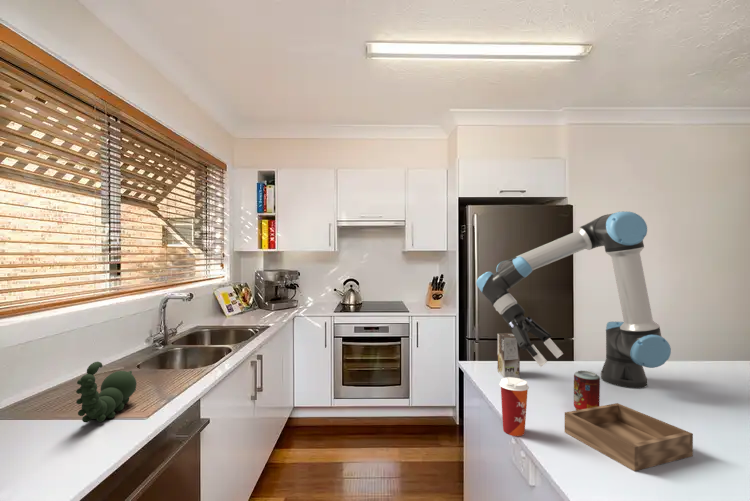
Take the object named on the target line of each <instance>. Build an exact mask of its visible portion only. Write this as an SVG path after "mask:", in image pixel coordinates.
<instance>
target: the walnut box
mask: <svg viewBox="0 0 750 501" xmlns="http://www.w3.org/2000/svg"><path fill="white" fill-rule="evenodd" d="M564 433H565V434H567V435H569V436H571V438H574V439H575V440H578V441H579V442H581V443H583V444H584V445H586V446H588V447H591V449H594V450H596V451H598V452H599V453H601V454H603V455H605V456H606V457H608V458H610V459H612V460H613V461H615V462H617V463H618V464H621V465H622V466H624V467H625V468H628V469H630V470H631V471H633V472H637V471H642V470H645V469H649V468H652V467H655V466H656V467H657V466H659V465H660V466H661V465H664V464H667V463H671V462H675V461H678V460H683V459H687V458H691V457H693V456H694V454H693V453H694V449H693V448H694V433H692V432H690V431H687V430H684V429H683V428H680V427H678V426H675V425H673V424H671V423H668V422H665V421H663V420H660V419H658V418H655V417H653V416H650V415H647V414H645V413H643V412H640V411H639V410H635V409H633V408H630V407H628V406H626V405H623V404H620V403H618V402H617V403H611V404H606V405H600V406H598V407H593V408H587V409H581V410H576V409H575V410H572V411H571V410H570V411H565V412H564Z"/></svg>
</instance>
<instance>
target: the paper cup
mask: <svg viewBox="0 0 750 501" xmlns="http://www.w3.org/2000/svg"><path fill="white" fill-rule="evenodd" d="M499 386H500V398H501V413H502V414H501V416H502V418H501V419H502V430H503V432H504V433H505V434H507V435H509V436H512V437H522V436H524V435H525V432H526V418H527V404H528V403H527V402H528V390H529V389H530V387H529V385H528V381H526V380H524V379H522V378H513V377H507V378H504V377H503V378H501V379H500V382H499Z"/></svg>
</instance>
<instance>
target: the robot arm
mask: <svg viewBox="0 0 750 501" xmlns="http://www.w3.org/2000/svg"><path fill="white" fill-rule="evenodd" d="M647 233H648V225H647V222H646V221H645V219H644V218H643V217H642V216H641V215H640V214H637V213H636V212H633V211H617V212H614V213H609V214H608V213H607V214H604V215H601V216H599V217H597V218H594V219H593V220H592V221H590V222H587V223H585V224H584V225H581V226H579V227H577V228H576V231H575V232H572V233H569V234H566V235H564V236H562V237H559V238H556V239H555V240H553V241H550V242H547V243H545V244H542V245H540V246H538V247H535V248H533V249H531V250H528V251H526V252H524V253H521V254H519V255H516V256H514V257H512V258H510V259H507V260H503V261H500V262H499V263H498V264H497V266H496V269H495V270H496V272H495V273H493V272H492V271H486V272H484V273H483V274H481V275H480V276H478V278H477V279H476V282H475V283H476V284H475V285H476V287H477V288H478V290H480V292H481V293H482V294H483V296H484V297H485V298H486V299H487V301H488V302H489V303H490V304H491V305H492V306H493V308H494V309H495V311H496V312H498V313H499V315H501V317H502V318H503V320H504V321H505V322H506V323H507V326H508V328H509V329H510V331H511V333H513V334H514V336H515V338H516V341H517V343H518V345H519V347H520V350H521V351H525V350H526V351H527V352H528V353H529V354H530V355H531V357H532V358H533V360H535V362H536V364H537V365H538V366H539V367H540V368H541V367H542V366H544V365H545V364H547V363H548V360H547V359H546V358H545V356H544V355H543V354H542V352H540V351H539V349H537V347H536V346H535V344H532V342H531V340H530V336H529V334H528V333H531V334H532V335H534V337H536V338H538V339H540V340H541V341H543V344H544V346H545V347H546V348H547V349H548V350H549V351H550V352H551V354H552V355H553V356H554V357H555V358H556V359H559V358H560V357H561V356H562V355H564V353H563V351H562V350H561V349H560V348H559V347H558V345H557V344H556V343H555V342H554V341H553V340H552V339H551V337H552V333H550V332H549V331H548V330H546V329H545V328H544V327H542V326H541V325H540V324H539V323H538V322H536V321H535V319H533V318H532V317H531V316H530V315H528V316H527V317H526V316H525V313H526V311H525V309H524V308H523V307H522V305H520V304H519V303H518V301H517V300H516V298H514V296H513V295H512V294H511V293H510V292H509V290H510V289H511V288H513V287H514V286H515V285H517V284H518V283H520V282H521V281H522V280H524V279H525V278H527V277H528V276H529V275H530V274H532V272H533V271H534V270H536V269H539V268H542V267H544V266H547V265H550V264H551V263H554V262H557V261H559V260H561V259H564V258H567V257H569V256H572V255H573V254H576V253H579V252H581V251H584V250H587V251H590V250H593V249H595V248H598V247H604V251H605V254H607V255H608V256H610V257H611V262H612V268H613V272H614V278H615V283H616V288H617V293H618V298H619V303H620V309H621V313H622V320H623V321H608V322H607V323H606V326H605V340H606V341H605V342H606V343H605V361H604V363H603V366H602V369H601V372H600V380H602V381H604V382H605V383H607V384H611V385H614V386H618V387H623V388H630V389H631V388H632V389H640V388H641V389H642V388H643V389H644V388H646V387H647V386H648V377H647V375H646V372H645V369H644V368H649V369H651V368H652V369H654V368H659V367H661V366H662V365H665V363H666V362H667V361H668V360H669V359H670V358H671V353H672V352H671V350H672V347H671V345H670V342H669V341H668V340H667V339H665V337H663V336H662V331H661V328H660V324H659V323H657V322H655V321H654V319H653V314H652V307H651V304H650V303H651V302H650V298H649V294H648V288H647V283H646V282H647V281H646V276H645V273H644V268H643V263H642V261H643V260H642V256H641V252H642V251H643V249H644V248H645V245H644V239H645V237H646V236H647V235H648V234H647Z"/></svg>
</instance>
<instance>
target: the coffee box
mask: <svg viewBox="0 0 750 501" xmlns="http://www.w3.org/2000/svg"><path fill="white" fill-rule="evenodd" d="M520 351H521V348H520V347H519V345H518V343H517V341H516V338H515V336H514V334H513V332H504V333H503V332H502V333H501V332H499V333H497V372H498V373H499V374H500V376H501V377H503V378H507V377H513V378H519V379H521V378H520V374H521V373H520V371H521V370H520V369H521V368H520V366H521V365H520V364H521V363H520V362H521V361H520V359H521V358H520V357H521V355H520V354H521V352H520Z"/></svg>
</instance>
